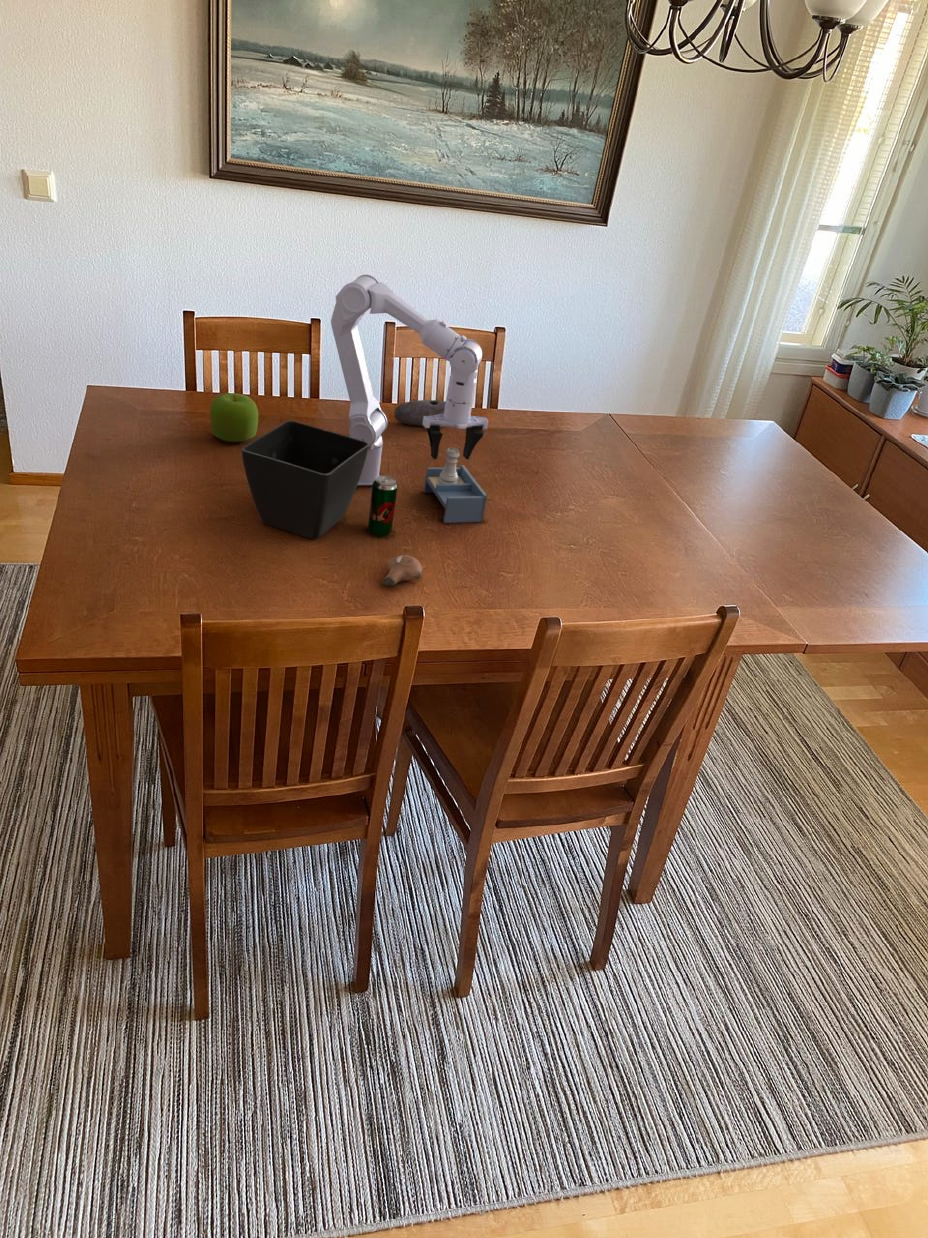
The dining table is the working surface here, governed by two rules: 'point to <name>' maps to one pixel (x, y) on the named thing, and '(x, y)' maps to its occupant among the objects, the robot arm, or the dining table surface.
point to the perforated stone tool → (418, 411)
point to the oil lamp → (402, 570)
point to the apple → (233, 417)
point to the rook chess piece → (450, 467)
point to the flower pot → (303, 476)
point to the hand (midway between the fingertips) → (450, 457)
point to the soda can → (382, 506)
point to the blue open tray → (457, 496)
